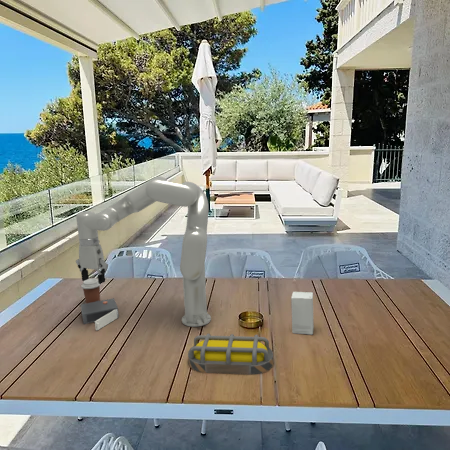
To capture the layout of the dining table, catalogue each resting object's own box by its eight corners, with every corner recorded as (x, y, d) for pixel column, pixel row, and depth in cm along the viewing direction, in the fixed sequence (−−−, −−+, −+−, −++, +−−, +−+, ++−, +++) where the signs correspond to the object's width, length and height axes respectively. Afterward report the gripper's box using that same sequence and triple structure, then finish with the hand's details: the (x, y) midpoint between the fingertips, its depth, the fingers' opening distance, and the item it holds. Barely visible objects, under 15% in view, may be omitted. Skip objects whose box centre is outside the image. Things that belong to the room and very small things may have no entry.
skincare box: (313, 327, 162) (314, 292, 159) (312, 335, 156) (313, 298, 152) (293, 326, 164) (292, 290, 161) (291, 333, 158) (291, 297, 155)
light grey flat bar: (120, 317, 178) (119, 309, 177) (98, 330, 166) (97, 322, 166) (116, 316, 179) (116, 308, 178) (95, 330, 167) (94, 321, 166)
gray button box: (118, 317, 179) (117, 306, 178) (83, 324, 173) (82, 313, 172) (114, 305, 192) (113, 295, 191) (81, 312, 186) (80, 302, 185)
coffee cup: (79, 307, 192) (76, 283, 189) (90, 299, 200) (87, 277, 198) (96, 308, 189) (93, 284, 187) (106, 300, 198) (104, 277, 195)
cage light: (272, 354, 130) (182, 351, 134) (273, 376, 132) (184, 372, 136) (273, 332, 144) (191, 330, 148) (273, 352, 146) (193, 350, 150)
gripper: (111, 241, 163) (115, 281, 167) (80, 237, 171) (85, 275, 175) (98, 245, 156) (102, 287, 160) (66, 242, 164) (71, 281, 168)
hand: (93, 281), depth 167 cm, fingers open, 8 cm apart
